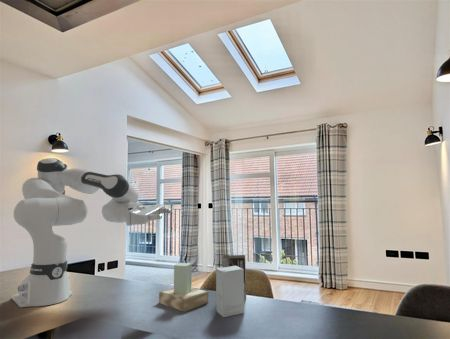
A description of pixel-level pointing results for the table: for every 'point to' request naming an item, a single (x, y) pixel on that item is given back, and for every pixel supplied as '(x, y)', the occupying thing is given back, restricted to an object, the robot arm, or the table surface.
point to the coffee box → (236, 261)
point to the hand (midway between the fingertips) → (166, 213)
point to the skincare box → (230, 291)
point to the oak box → (183, 299)
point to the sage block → (182, 278)
